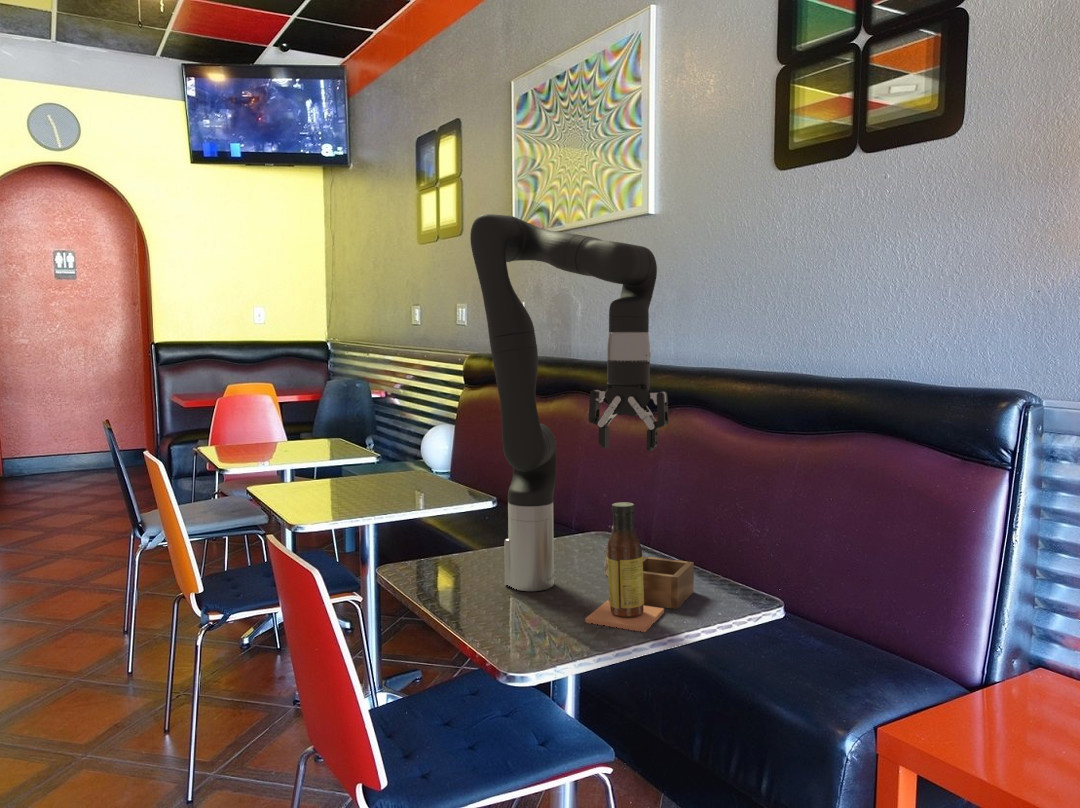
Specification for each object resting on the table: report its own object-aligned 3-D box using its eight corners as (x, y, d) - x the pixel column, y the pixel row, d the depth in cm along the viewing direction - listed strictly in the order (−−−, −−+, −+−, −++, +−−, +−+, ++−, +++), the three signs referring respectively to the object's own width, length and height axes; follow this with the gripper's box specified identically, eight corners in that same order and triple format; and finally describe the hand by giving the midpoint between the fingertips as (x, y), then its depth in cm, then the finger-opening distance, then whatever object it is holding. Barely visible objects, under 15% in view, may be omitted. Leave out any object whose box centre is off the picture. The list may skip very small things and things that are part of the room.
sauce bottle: (649, 610, 142) (649, 502, 140) (635, 621, 136) (636, 508, 135) (616, 605, 145) (616, 499, 144) (601, 615, 140) (601, 505, 138)
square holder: (624, 601, 149) (624, 570, 149) (643, 585, 160) (643, 556, 159) (677, 609, 145) (677, 577, 144) (693, 591, 155) (693, 562, 155)
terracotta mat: (585, 622, 138) (585, 618, 138) (607, 604, 148) (607, 600, 148) (645, 632, 133) (645, 627, 133) (664, 612, 143) (664, 608, 143)
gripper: (583, 358, 138) (582, 449, 139) (660, 358, 132) (659, 454, 133) (599, 357, 145) (598, 444, 146) (673, 358, 139) (672, 449, 140)
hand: (627, 449), depth 140 cm, fingers open, 8 cm apart
